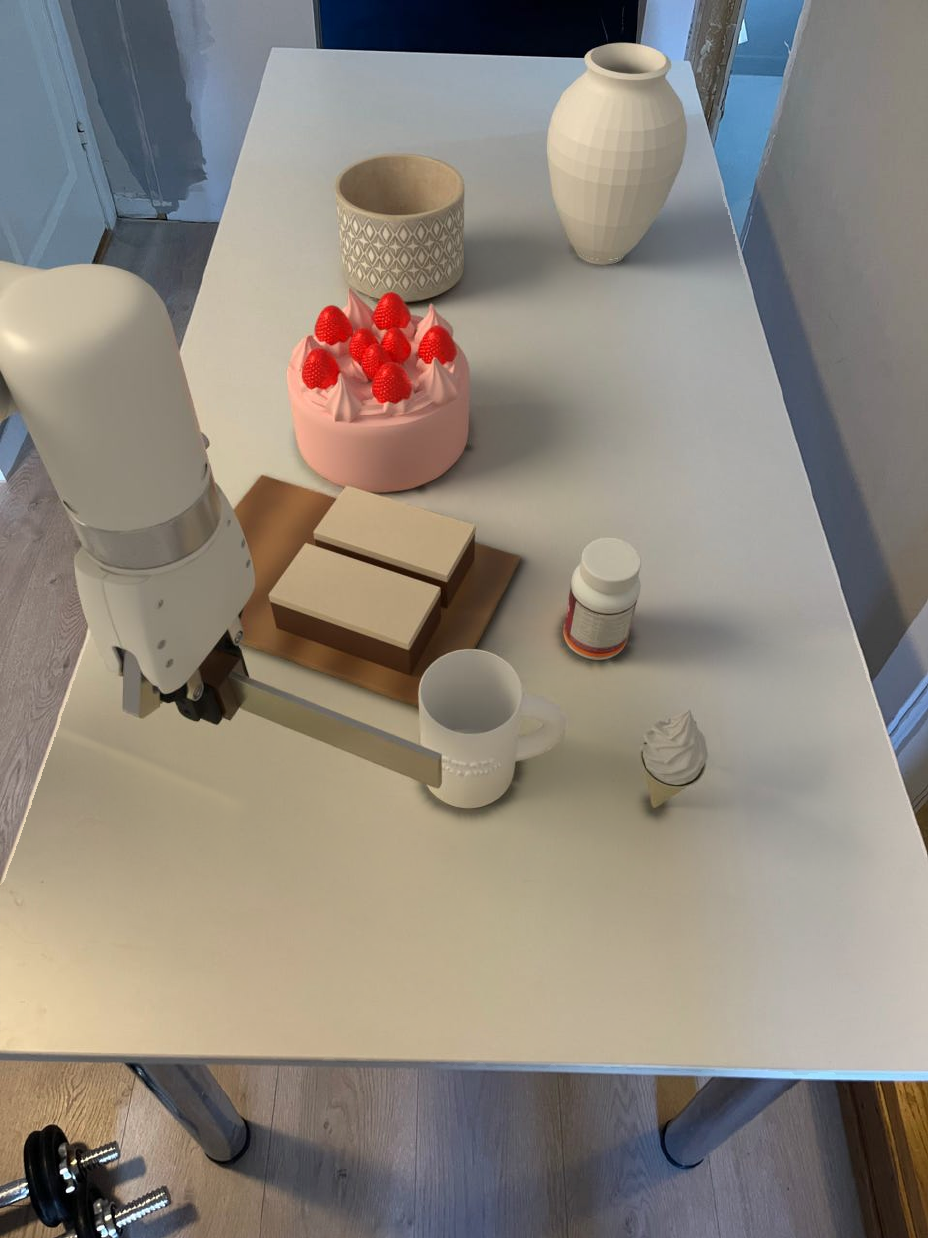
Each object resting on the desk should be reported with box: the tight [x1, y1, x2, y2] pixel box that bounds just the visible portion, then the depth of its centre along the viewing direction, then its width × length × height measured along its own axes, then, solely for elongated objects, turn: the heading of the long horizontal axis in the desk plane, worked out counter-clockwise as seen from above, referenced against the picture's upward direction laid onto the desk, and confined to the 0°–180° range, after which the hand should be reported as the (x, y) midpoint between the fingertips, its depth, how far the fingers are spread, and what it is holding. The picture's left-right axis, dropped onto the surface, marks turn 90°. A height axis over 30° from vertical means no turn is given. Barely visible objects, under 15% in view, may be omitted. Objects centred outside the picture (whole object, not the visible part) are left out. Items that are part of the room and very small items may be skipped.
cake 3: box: [269, 543, 441, 676], centre depth 84 cm, size 14×7×5 cm, turn 67°
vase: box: [546, 42, 688, 266], centre depth 119 cm, size 18×18×25 cm
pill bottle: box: [563, 537, 642, 661], centre depth 83 cm, size 6×6×11 cm
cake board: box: [233, 474, 520, 709], centre depth 90 cm, size 30×20×1 cm, turn 67°
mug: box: [418, 648, 567, 809], centre depth 74 cm, size 8×12×12 cm
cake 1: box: [286, 287, 471, 494], centre depth 99 cm, size 20×20×14 cm
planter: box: [334, 153, 466, 303], centre depth 120 cm, size 16×16×13 cm
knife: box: [121, 648, 442, 788], centre depth 60 cm, size 24×3×4 cm, turn 66°
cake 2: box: [313, 485, 477, 609], centre depth 89 cm, size 14×7×5 cm, turn 67°
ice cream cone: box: [639, 709, 709, 809], centre depth 70 cm, size 5×5×15 cm
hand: (215, 694), depth 62 cm, fingers closed on knife, 2 cm apart
